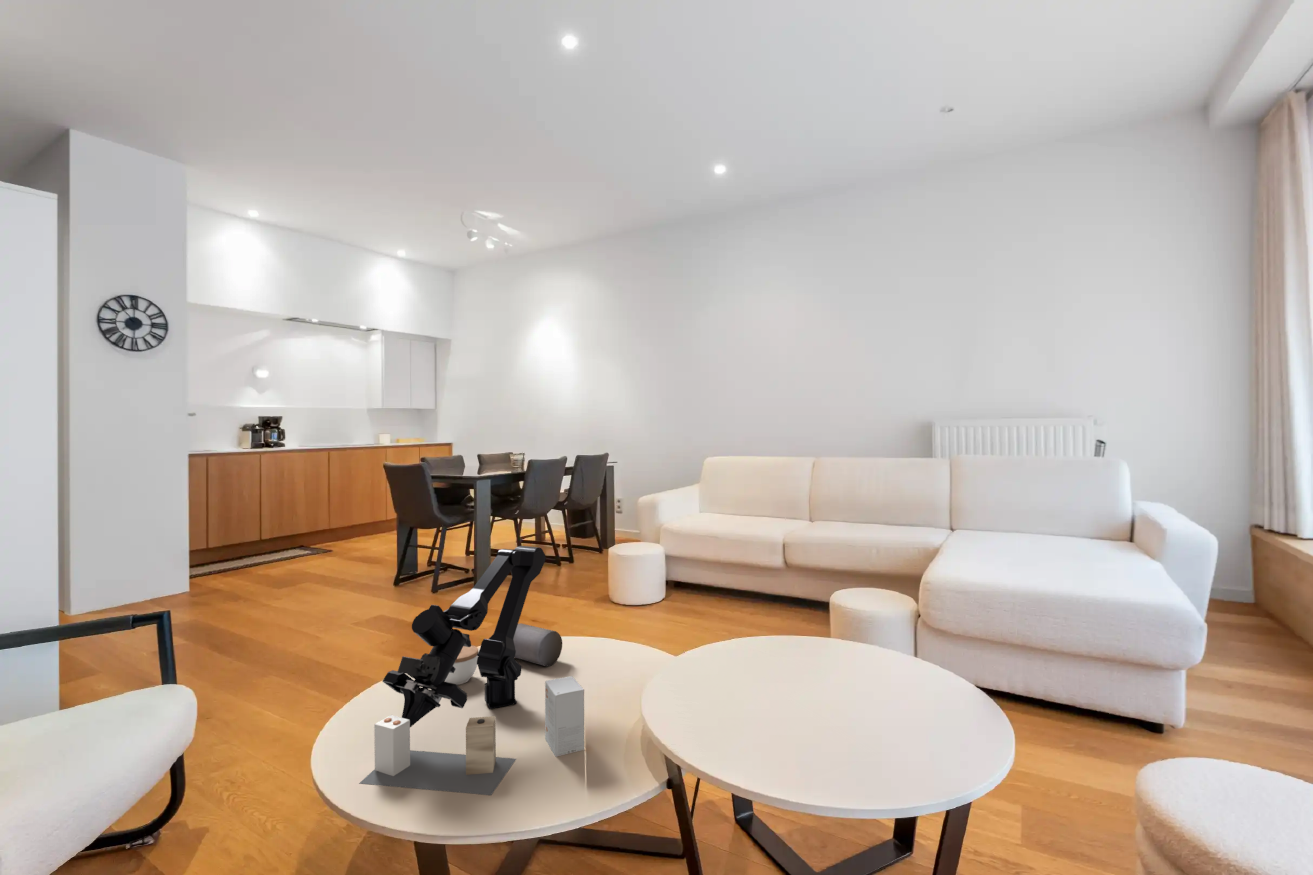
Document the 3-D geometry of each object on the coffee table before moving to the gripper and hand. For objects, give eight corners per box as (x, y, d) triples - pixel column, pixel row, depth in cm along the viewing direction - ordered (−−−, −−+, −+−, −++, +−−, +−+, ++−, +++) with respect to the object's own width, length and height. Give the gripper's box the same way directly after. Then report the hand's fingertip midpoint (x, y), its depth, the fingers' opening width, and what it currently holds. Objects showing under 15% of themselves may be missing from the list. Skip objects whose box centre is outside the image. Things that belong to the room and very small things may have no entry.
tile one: (469, 762, 116) (469, 716, 116) (495, 761, 117) (495, 714, 117) (466, 774, 112) (465, 726, 112) (492, 772, 113) (492, 724, 113)
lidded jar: (458, 669, 164) (458, 635, 164) (486, 676, 159) (486, 642, 159) (427, 683, 155) (426, 648, 155) (456, 692, 150) (456, 655, 150)
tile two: (391, 759, 117) (391, 713, 117) (410, 765, 115) (409, 718, 115) (374, 769, 114) (374, 722, 114) (393, 776, 112) (393, 727, 112)
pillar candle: (564, 657, 171) (527, 647, 179) (561, 625, 170) (524, 617, 178) (540, 672, 163) (503, 661, 171) (537, 639, 162) (499, 629, 170)
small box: (585, 752, 121) (584, 689, 121) (555, 759, 118) (554, 695, 118) (573, 734, 128) (572, 674, 128) (544, 740, 126) (544, 680, 125)
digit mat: (516, 761, 118) (516, 758, 118) (491, 798, 106) (491, 794, 106) (396, 751, 121) (396, 748, 121) (359, 786, 109) (359, 783, 109)
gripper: (389, 632, 125) (343, 705, 115) (457, 644, 118) (413, 724, 108) (418, 656, 132) (377, 727, 122) (483, 669, 125) (445, 746, 115)
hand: (401, 730), depth 117 cm, fingers closed, pressing on tile two
